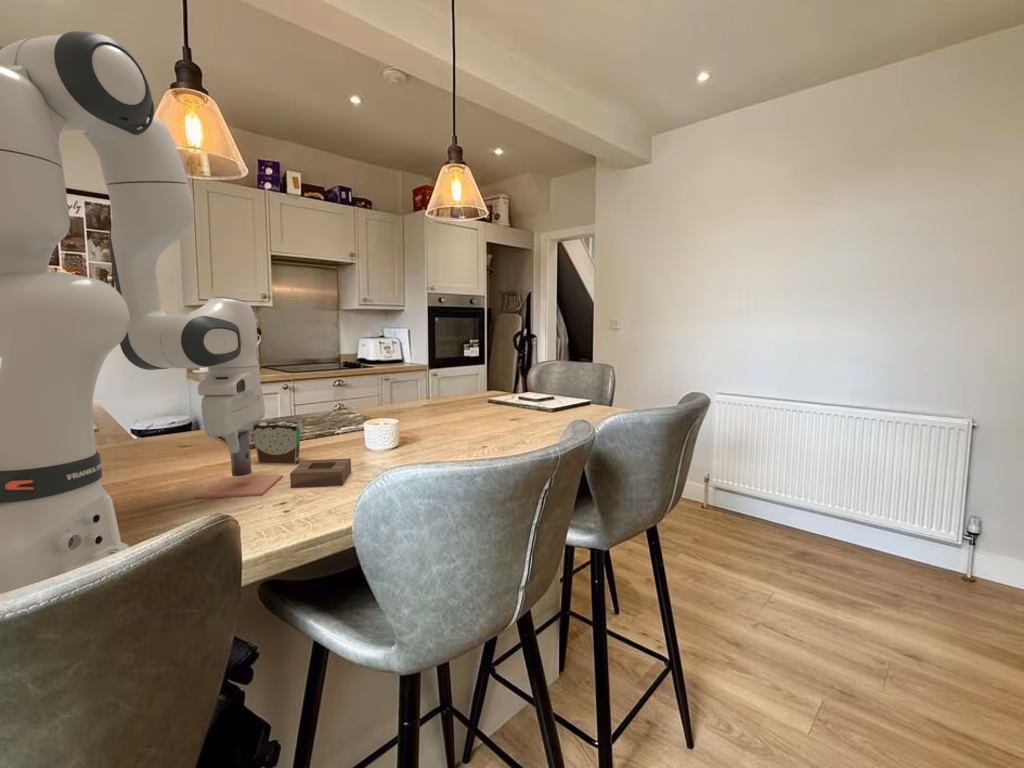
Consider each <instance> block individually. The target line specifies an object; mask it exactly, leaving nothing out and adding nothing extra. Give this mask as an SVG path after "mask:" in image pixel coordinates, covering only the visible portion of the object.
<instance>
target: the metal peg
mask: <svg viewBox="0 0 1024 768" xmlns="http://www.w3.org/2000/svg"><path fill="white" fill-rule="evenodd" d="M249 430H251V424H248V425H246V426H245V427H244V428H242V429H240V430H238V435H237V437H238V441H239V442H241V450H240V451H239V452H237V453H230V466H231V468H230V469H231V477H241V476H249V475H250V474H252V472H253V471H252V460H251V457H252V456H251V446H250V445H251V444H250V441H249Z"/></svg>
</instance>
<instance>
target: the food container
mask: <svg viewBox="0 0 1024 768" xmlns="http://www.w3.org/2000/svg"><path fill="white" fill-rule="evenodd" d="M252 426H253V428H252V434H253V439H254V445H255V450H256V456H257V462H258V463H257V464H259V465H287V466H289V465H290V466H291V465H292V466H296V465H297V464H298V465H299V463H300V462H299V461H300V441H301V432H302V431H304V428H303V423H302V422H301V420H299V419H297V418H296V419H295V418H274V419H265V420H258V421H256V422H254V423H252Z"/></svg>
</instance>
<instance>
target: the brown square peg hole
mask: <svg viewBox="0 0 1024 768" xmlns="http://www.w3.org/2000/svg"><path fill="white" fill-rule="evenodd" d="M351 473H352V459H351V458H333V459H331V458H329V459H327V458H326V459H305V460H303V461H301V463H298V465H297V466H296V467H295V468H294V469H293V470H292V471H291V472H290V473H289V476H290V478H289V479H290V489H291V488H292V489H294V488H296V489H297V488H312V487H313V488H314V487H316V488H317V487H335V486H336V487H337V486H343V485H344V483H345V482H346V480H347V479H348V477H349V476H350V474H351Z"/></svg>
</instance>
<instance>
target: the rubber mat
mask: <svg viewBox="0 0 1024 768" xmlns="http://www.w3.org/2000/svg"><path fill="white" fill-rule="evenodd" d="M283 477H284V476H283V474H269V475H268V474H267V475H244V476H222V478H220V479H219V480H217V481H216V482H214V483H212V485H210V486H208V487H207V488H205V489H204V490H202V491H201V492H199V493H197V494H196V495H195V496H194V497H195V498H194V499H195V500H196V499H212V498H213V499H215V498H217V499H218V498H233V497H237V498H238V497H239V498H240V497H254V496H255V497H258V496H260V497H261V496H264V495H265V494H266V493H267V492H268V491H270V489H271V488H272V487H274V485H276V484H277V483H278V482H279V481H280V480H282V479H283Z"/></svg>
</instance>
